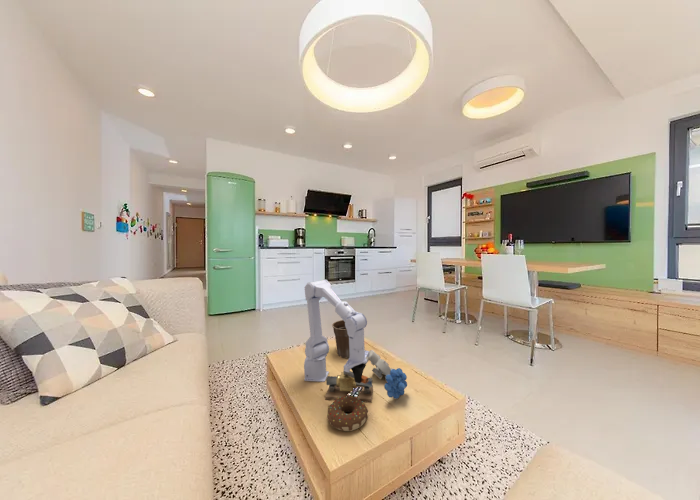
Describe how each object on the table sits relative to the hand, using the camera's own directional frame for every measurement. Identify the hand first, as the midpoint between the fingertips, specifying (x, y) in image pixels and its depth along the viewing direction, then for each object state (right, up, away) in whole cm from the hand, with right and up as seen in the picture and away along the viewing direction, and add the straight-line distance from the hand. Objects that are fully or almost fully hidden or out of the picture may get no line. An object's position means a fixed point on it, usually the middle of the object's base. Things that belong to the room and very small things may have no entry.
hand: (358, 382), depth 95 cm
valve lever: (-1, 0, +3) cm, 3 cm away
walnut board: (-3, -8, +6) cm, 10 cm away
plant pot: (-4, -6, +41) cm, 42 cm away
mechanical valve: (+6, -7, +15) cm, 17 cm away
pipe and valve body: (-3, -7, +6) cm, 9 cm away
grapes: (+15, -8, +1) cm, 17 cm away
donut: (-4, -9, -8) cm, 13 cm away
